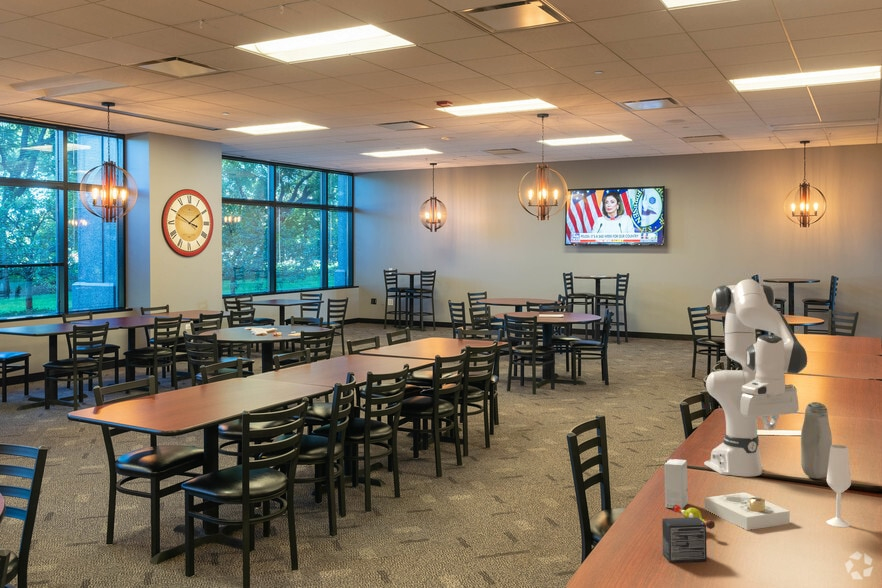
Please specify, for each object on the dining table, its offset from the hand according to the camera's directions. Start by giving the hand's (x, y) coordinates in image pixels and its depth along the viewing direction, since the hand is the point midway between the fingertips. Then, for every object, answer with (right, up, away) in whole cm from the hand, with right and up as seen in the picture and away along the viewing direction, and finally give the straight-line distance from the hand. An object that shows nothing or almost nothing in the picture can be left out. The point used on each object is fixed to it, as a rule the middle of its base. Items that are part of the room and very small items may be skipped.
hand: (769, 428), depth 246 cm
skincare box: (-27, -27, +9) cm, 40 cm away
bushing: (-7, -28, -7) cm, 30 cm away
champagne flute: (+17, -28, -10) cm, 34 cm away
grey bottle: (+33, -25, +37) cm, 56 cm away
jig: (-9, -27, -3) cm, 29 cm away
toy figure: (-29, -29, -13) cm, 43 cm away
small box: (-38, -30, -34) cm, 59 cm away
